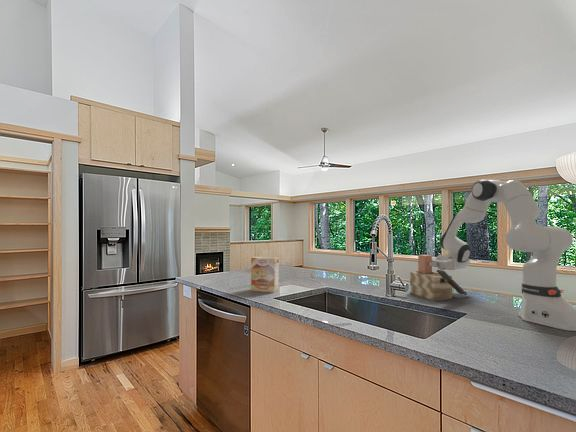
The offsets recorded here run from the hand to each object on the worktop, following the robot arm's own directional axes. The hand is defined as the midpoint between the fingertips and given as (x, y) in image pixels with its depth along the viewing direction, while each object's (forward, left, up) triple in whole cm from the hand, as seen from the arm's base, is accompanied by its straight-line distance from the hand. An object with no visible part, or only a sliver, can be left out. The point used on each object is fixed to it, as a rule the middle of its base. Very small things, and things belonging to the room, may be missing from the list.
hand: (423, 263), depth 176 cm
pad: (-9, -14, -18) cm, 24 cm away
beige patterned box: (-4, -1, -18) cm, 18 cm away
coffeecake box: (+34, +84, -18) cm, 93 cm away
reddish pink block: (0, -1, -6) cm, 6 cm away
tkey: (-17, -8, -14) cm, 23 cm away
